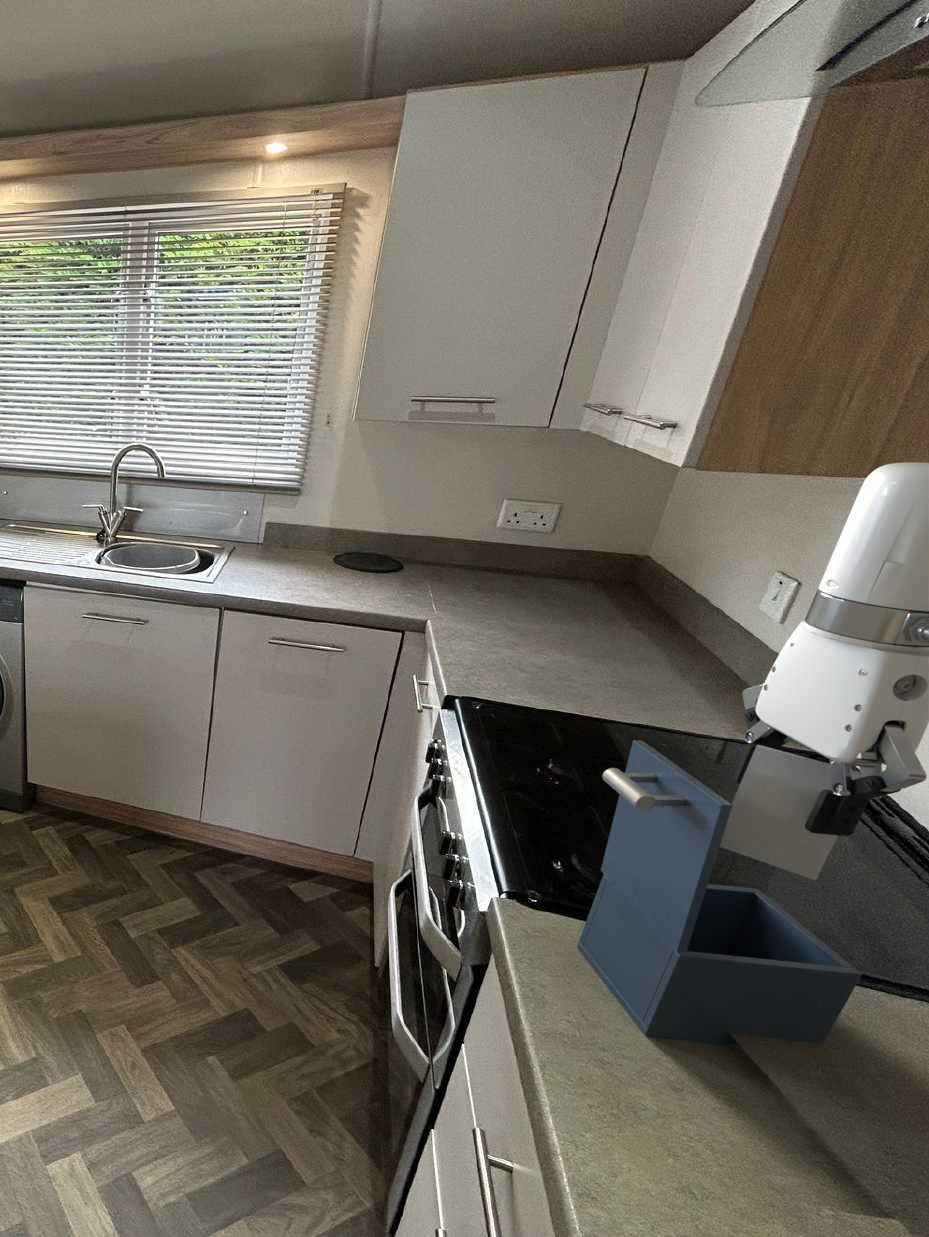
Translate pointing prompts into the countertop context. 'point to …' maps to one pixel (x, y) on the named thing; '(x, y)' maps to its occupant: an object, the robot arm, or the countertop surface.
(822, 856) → the grey rectangular block
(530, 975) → the countertop surface
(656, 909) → the bin lid
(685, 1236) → the countertop surface
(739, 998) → the waste bin
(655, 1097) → the countertop surface
